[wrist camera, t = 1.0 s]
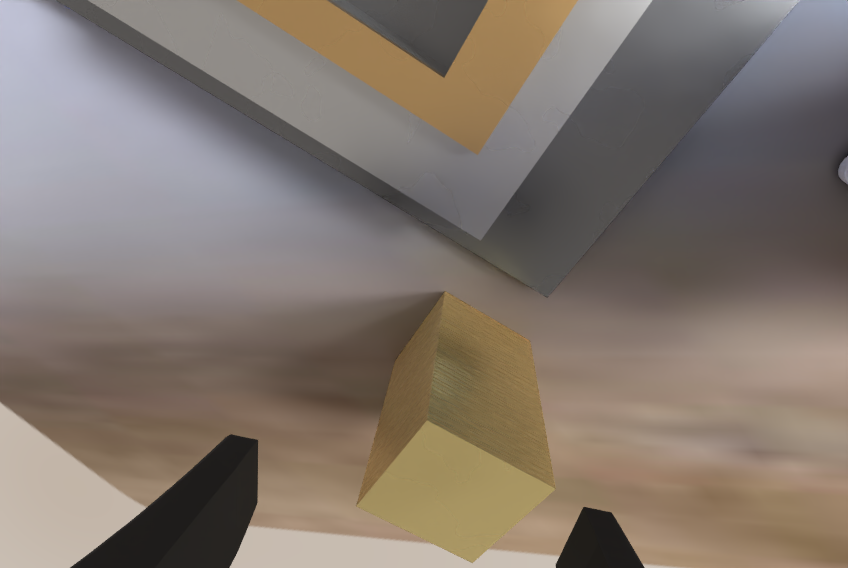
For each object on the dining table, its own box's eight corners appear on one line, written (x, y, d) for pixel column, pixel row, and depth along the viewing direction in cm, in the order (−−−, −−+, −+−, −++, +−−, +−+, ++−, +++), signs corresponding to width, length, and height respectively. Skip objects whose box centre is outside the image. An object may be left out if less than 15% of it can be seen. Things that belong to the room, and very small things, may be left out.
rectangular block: (530, 340, 20) (555, 489, 13) (474, 404, 22) (472, 562, 15) (445, 291, 19) (427, 420, 13) (394, 360, 21) (356, 506, 14)
